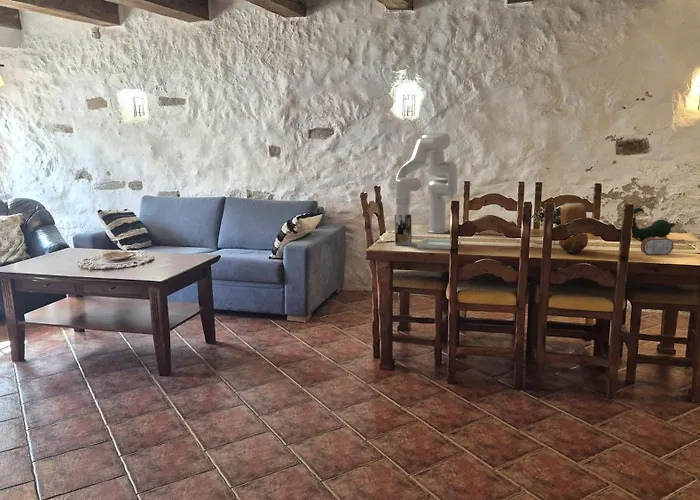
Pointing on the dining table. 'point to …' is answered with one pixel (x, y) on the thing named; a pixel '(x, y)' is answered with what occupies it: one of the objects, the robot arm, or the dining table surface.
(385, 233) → the dining table surface
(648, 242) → the tin
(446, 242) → the tray
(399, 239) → the coffee box
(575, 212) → the butternut squash
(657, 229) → the toy figurine
